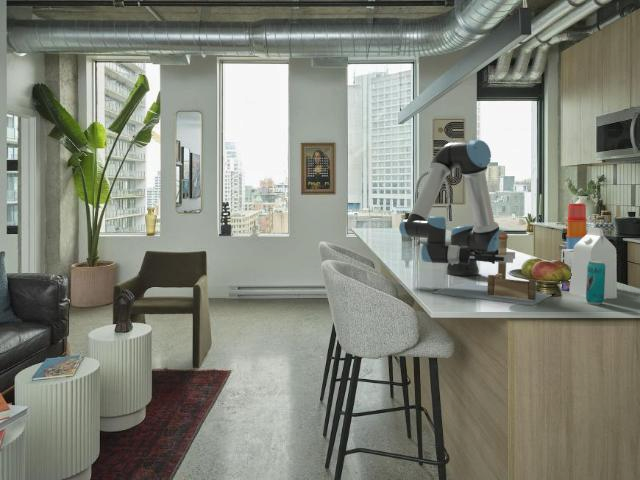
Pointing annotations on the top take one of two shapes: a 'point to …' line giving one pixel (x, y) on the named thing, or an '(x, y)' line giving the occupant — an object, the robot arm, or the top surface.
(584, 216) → the stacking cups
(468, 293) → the card
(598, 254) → the milk
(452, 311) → the top surface
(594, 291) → the beverage can
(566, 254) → the candy box
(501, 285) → the fence fixed
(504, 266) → the folding fence panel
